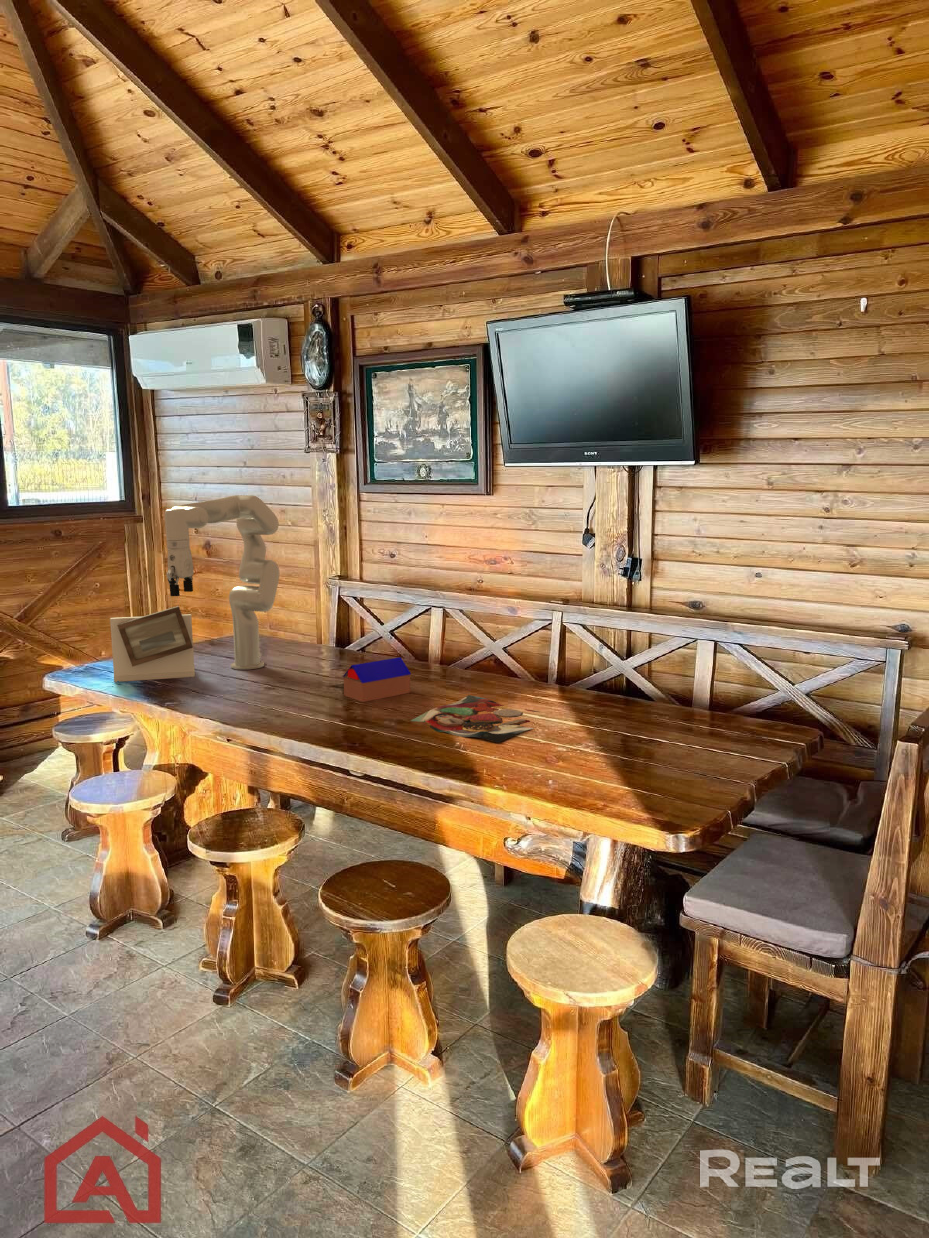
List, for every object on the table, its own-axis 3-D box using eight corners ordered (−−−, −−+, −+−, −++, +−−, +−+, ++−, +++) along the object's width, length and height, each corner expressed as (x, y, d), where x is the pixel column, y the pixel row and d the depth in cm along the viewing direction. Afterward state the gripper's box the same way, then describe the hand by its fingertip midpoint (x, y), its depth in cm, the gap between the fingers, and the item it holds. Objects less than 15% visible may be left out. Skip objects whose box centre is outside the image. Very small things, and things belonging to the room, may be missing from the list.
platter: (400, 725, 274) (400, 719, 274) (469, 701, 303) (469, 695, 303) (498, 746, 254) (498, 739, 253) (562, 717, 282) (562, 711, 282)
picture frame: (132, 665, 332) (117, 624, 328) (192, 646, 337) (178, 605, 333) (132, 666, 330) (117, 625, 326) (192, 647, 334) (178, 606, 331)
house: (411, 693, 313) (411, 659, 311) (362, 702, 300) (361, 668, 298) (391, 686, 322) (390, 654, 320) (342, 696, 309) (341, 662, 307)
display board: (116, 677, 338) (111, 615, 335) (194, 672, 346) (191, 612, 342) (114, 681, 331) (109, 619, 327) (194, 676, 338) (191, 615, 334)
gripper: (176, 547, 305) (179, 598, 309) (199, 542, 322) (203, 590, 325) (155, 547, 307) (159, 597, 310) (180, 542, 323) (183, 589, 327)
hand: (181, 593), depth 318 cm, fingers open, 9 cm apart
